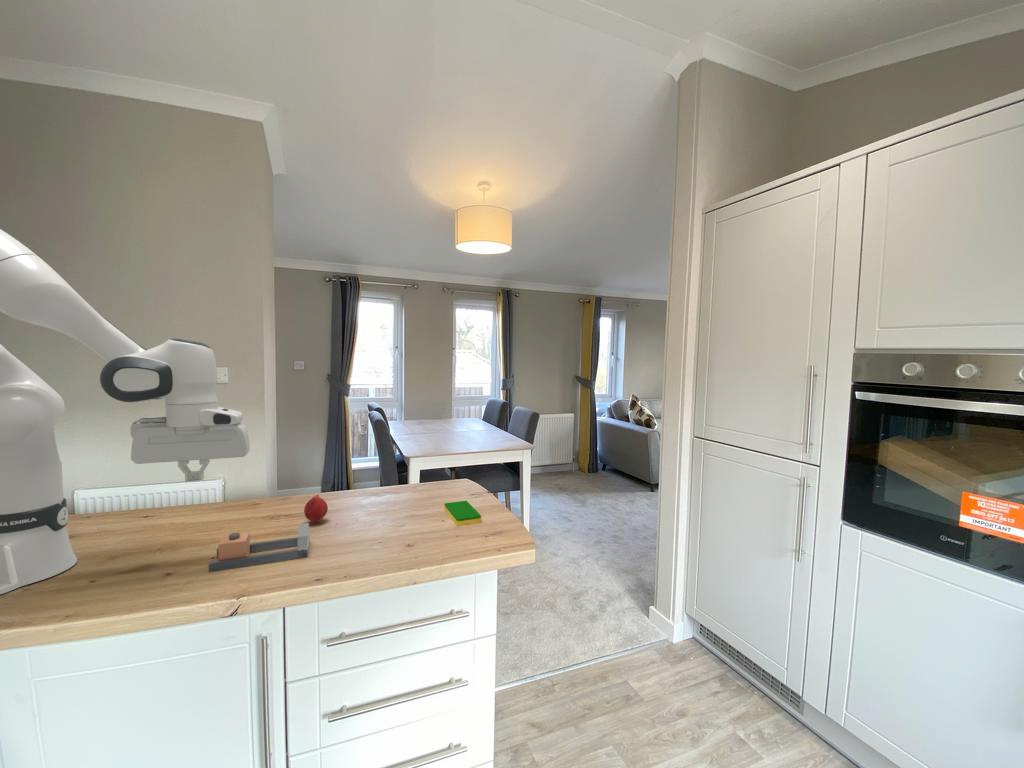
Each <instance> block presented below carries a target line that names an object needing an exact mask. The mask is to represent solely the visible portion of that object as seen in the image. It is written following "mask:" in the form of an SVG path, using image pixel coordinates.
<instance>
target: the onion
mask: <svg viewBox="0 0 1024 768" xmlns="http://www.w3.org/2000/svg"><path fill="white" fill-rule="evenodd" d="M328 509H329V507H328V504H327V502H326V500H324V499H323V498H321V497H320V494H318V493H315V494H314V495H313V497H312V498H310V499H309V500H308V501H307V502H306V504H305V505H304V509H303V511H304V512H303V514H304V516H305V518H306V519H307V520H308V521H310V522H312V523H315V524H317V523H319V522H320V521H321V520H322V519H324V517H326V516H327V513H328Z"/></svg>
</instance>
